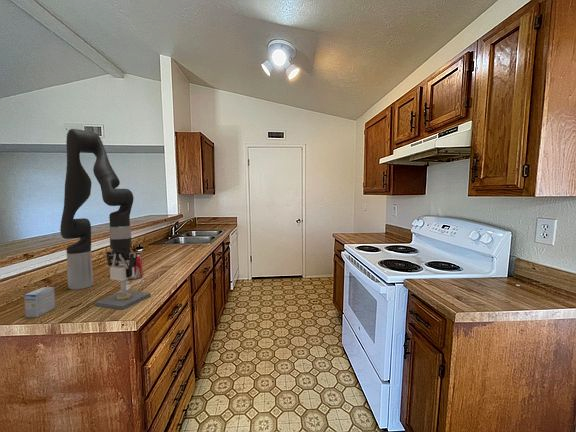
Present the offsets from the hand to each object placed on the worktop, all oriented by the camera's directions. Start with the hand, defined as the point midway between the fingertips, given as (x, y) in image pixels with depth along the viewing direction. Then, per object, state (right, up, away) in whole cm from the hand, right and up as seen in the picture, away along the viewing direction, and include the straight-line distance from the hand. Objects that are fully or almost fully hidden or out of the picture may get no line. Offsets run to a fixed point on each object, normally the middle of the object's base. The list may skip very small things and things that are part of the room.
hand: (122, 276), depth 108 cm
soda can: (-13, -8, +31) cm, 35 cm away
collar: (0, -1, 0) cm, 1 cm away
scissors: (-9, -10, +18) cm, 22 cm away
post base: (0, -11, +1) cm, 11 cm away
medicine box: (-25, -12, -10) cm, 29 cm away
